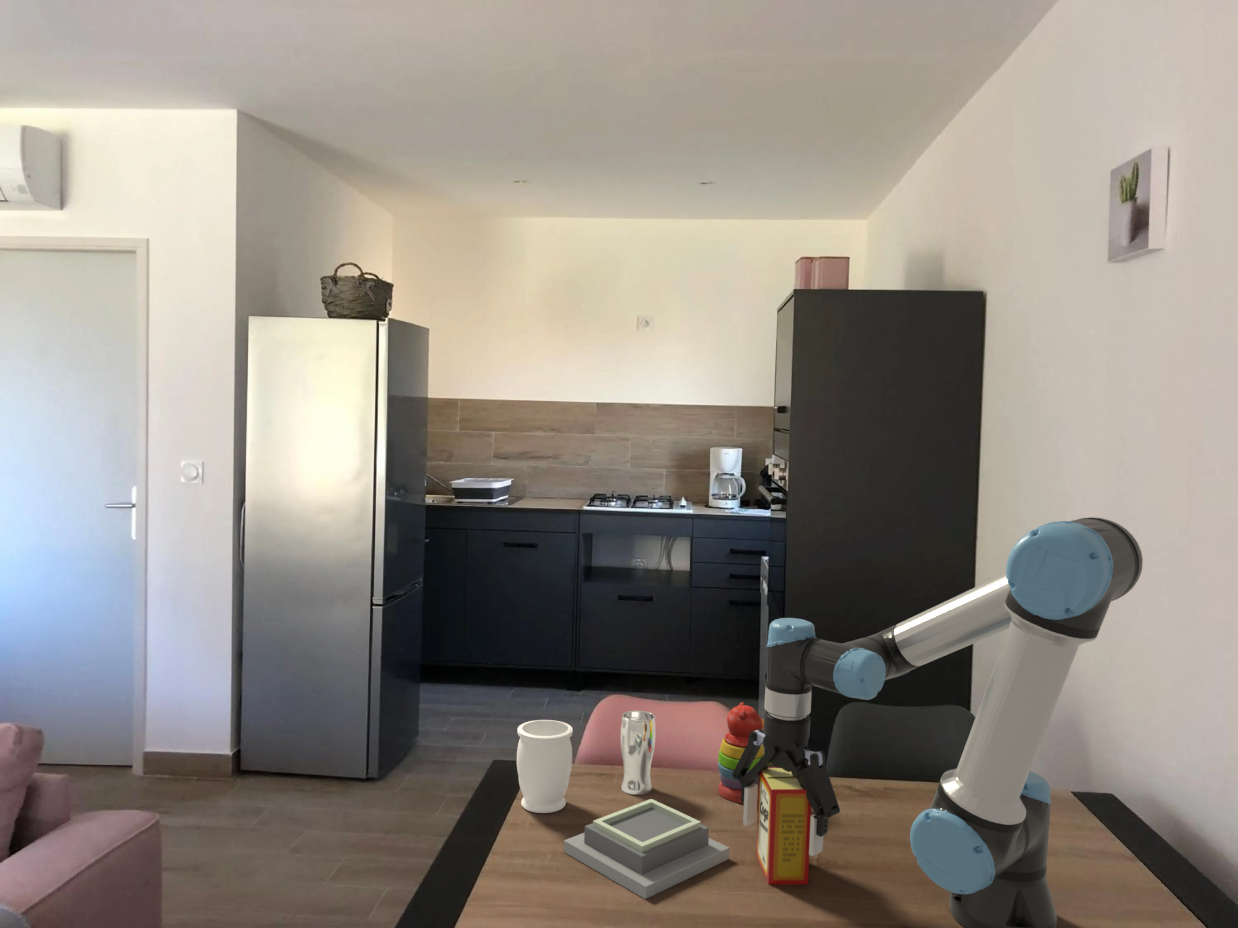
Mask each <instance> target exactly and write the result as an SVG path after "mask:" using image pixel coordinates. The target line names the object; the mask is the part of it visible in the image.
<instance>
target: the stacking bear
mask: <svg viewBox="0 0 1238 928" xmlns="http://www.w3.org/2000/svg"><path fill="white" fill-rule="evenodd" d="M726 722H727V728H728V732H727V733H726V734H725V735H724V737H723V738H722V740H721V742H720V743H721V744H720V749H719V750H718V757H717V760H718V761H717V766H718V767H717V768H718V771H719V778H720V782H719V784H718V789H717V791H718V792H717V793H718V794H719V795H720V796H721V797H723V798H724V799H726V800H729V801H732V802H735V803H738V804H743V805H744V803H742V801H741V789H742V785H741V784H740V781H739V780H738V779H734V778H733V776H732V773H733V771H734V769H735V767H736V765H737V763H738V761H739V760H740V758H741V756H742V754H743V752H744V750H745V748H746V746H747V744H748V739H749V733H750V732H753V731H756V730H759V729H761V730H762V731H764V718H762V717H761V716H760V715H759V714H758V712H757V710H756V709H754V708H753V707H752V706H750V705H745V703H744V702H743V701H742V702H740V703H739V704H738V705H737V706H735V707H733V708H732V709H730V710H729V712H728V714H727V718H726ZM764 754H765V750H764V745H763V744H762V745H761V747H760V749H759V751H758V753H757V755H756V757H755V759H754V760H753V762H752V764H751V766H750V768H749V770H748V772H749V771H750V770H751V769H752V768H753V767H754V766H755V765H756V764H757V763H758V762H759V761H760V758H761V757H762V756H763V755H764ZM748 772H747V773H748ZM752 784H757V785H758V792H759V777H758V778H757V779H756V780H755V782H753V783H752ZM757 807H758V796H757Z"/></svg>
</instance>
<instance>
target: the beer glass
mask: <svg viewBox="0 0 1238 928" xmlns="http://www.w3.org/2000/svg"><path fill="white" fill-rule="evenodd" d="M621 715H622V718H621V725H620V748H621V756H622V764H623V778H622V782H621V787H620V788H621V790H622V791H623V793H626V794H628V795H632V796H642V795H646V794H649V793H651V791H652V789H653V788H652V787H653V786H652V780H651V768H652V767H651V766H652V762H653V756H654V752H655V746H656V716H655V714H654V713H652V712H649V711H645V710H630V711H629V710H628V711H625V712H624V713H622V714H621Z"/></svg>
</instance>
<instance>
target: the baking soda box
mask: <svg viewBox="0 0 1238 928" xmlns="http://www.w3.org/2000/svg"><path fill="white" fill-rule="evenodd" d="M811 815H812V807H811V805H810V803H809V801H808V799H807V797H806V790H805V789H802V788H801V786H800V784H799V782H798V780H797V779H796V778H794V776H793V775H792V773H791V771H790V772H787V771H785V770H783V769H782V768H777V767H774V766H769V767H768V768H767V769H764V770H762V771H761V772H760V774H759V792H758V806H757V818H756V822H757V823H756V824H757V825H756V849H755V850H756V851H755V853H756V855H755V857H756V859H757V862H758V864H759V866H760V869H761V870H762V873H763V876H764V878H765V881H766V882H767V885H768V886H769V885H809V869H810V855H809V842H810V821H811Z"/></svg>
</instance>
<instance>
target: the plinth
mask: <svg viewBox="0 0 1238 928" xmlns="http://www.w3.org/2000/svg"><path fill="white" fill-rule="evenodd" d="M709 834H710V827H709V826H706V825H704V824H702V822H701V821H700V820H698V819H696V818H693V817H691V816H689V815H687V814H686V813H683V812H681V811H679V810H677V809H675V808H672V807H671V806H668V805H665V804H664V803H661V802H658V801H657V800H655V799H652V798H650V799H647V800H645V801H641V802H639V803H636V804H634V805H632V806H631V805H630V806H629V807H626V808H623V809H621V810H618V811H615V812H612V813H610V814H608V815H605V816H602V817H599V818H597V819H595V820H594V819H593V820H592V823H590V824H586V825H584V832H582V833H580V834H577V835H575V836H572V837H569V838H567V839H565V840H563V853H565V854H567V855H568V856H570V857H572V858H573V859H576V860H577V861H579V862H580V863H582V864H584V865H586V866H587V867H589V868H591V869H593V870H594V871H596V872H598V873H599V874H601V875H602V876H604V877H606V878H608V879H610V880H612V881H613V882H615V883H617V884H619V885H620V886H622V887H623V888H625V889H627V890H629V891H631V892H632V893H634V894H636V895H638V896H639V897H640V898H642V899H644V900H647V899H649V898H651V897H653V896H655V895H657V894H659V893H662V892H664V891H665V890H668V889H669V888H672V887H674V886H676V885H679V884H680V883H682V882H685V881H687V880H688V879H691V878H693V877H694V876H697V875H698V874H699V875H700V874H701V873H703V872H705V871H707V870H709V869H711V868H713V867H716V866H717V865H720V864H722V863H723V862H726V861H728V860H729V859H730V847H729V846H727V845H725V844H723V843H721V842H719V841H716V840H715V839H712V838H710V836H709Z"/></svg>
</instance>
